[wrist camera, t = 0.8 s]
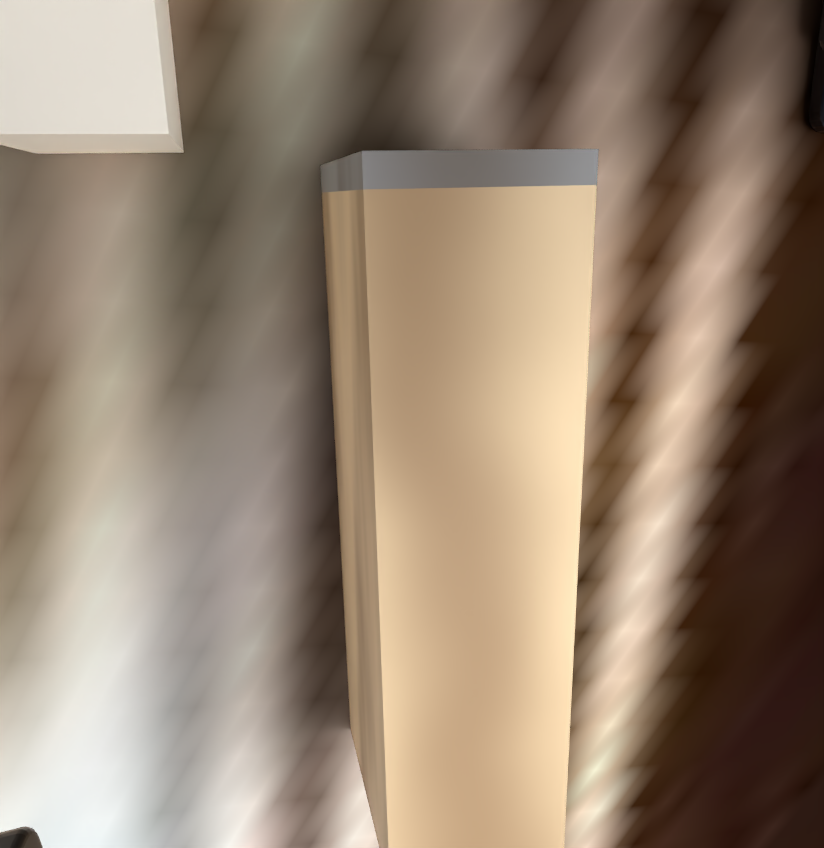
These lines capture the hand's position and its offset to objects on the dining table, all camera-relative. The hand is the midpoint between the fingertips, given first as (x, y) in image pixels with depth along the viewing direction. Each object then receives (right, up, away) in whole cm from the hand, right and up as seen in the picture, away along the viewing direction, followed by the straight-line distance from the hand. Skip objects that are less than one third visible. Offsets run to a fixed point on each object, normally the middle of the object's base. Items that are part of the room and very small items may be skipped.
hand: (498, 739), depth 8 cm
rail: (-1, +2, +12) cm, 13 cm away
